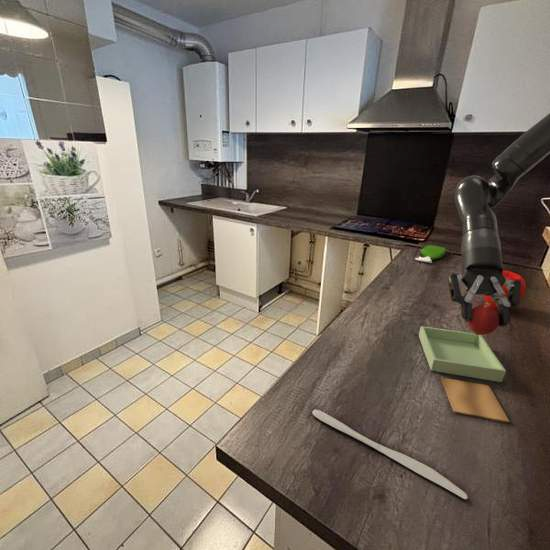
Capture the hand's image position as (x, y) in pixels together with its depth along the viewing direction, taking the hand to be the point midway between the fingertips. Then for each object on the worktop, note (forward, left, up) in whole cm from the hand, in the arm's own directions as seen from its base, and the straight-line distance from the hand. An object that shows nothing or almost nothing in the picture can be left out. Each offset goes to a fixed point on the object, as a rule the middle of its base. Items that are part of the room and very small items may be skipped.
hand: (485, 323), depth 62 cm
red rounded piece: (0, -2, -4) cm, 5 cm away
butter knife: (+21, +23, -16) cm, 35 cm away
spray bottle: (-13, -95, -16) cm, 97 cm away
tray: (-1, -10, -16) cm, 19 cm away
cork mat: (0, +5, -16) cm, 17 cm away
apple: (-23, -43, -16) cm, 51 cm away
